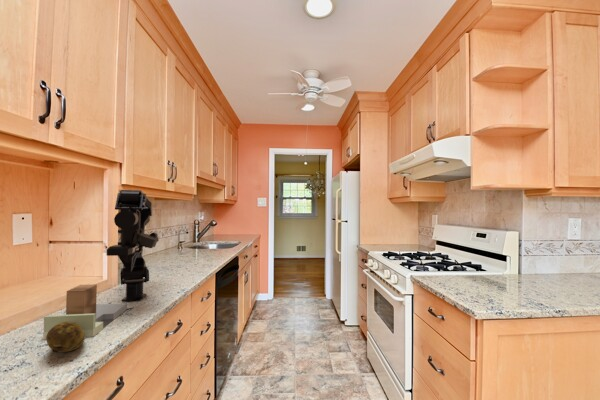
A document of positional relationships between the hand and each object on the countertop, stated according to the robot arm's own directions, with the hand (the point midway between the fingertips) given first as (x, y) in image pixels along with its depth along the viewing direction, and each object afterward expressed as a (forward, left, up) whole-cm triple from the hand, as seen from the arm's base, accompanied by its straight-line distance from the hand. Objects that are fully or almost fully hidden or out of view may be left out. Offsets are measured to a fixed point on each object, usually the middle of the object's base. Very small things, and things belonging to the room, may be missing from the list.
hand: (129, 271), depth 94 cm
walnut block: (+14, -7, -11) cm, 19 cm away
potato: (+26, -3, -13) cm, 29 cm away
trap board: (+9, -7, -13) cm, 17 cm away
